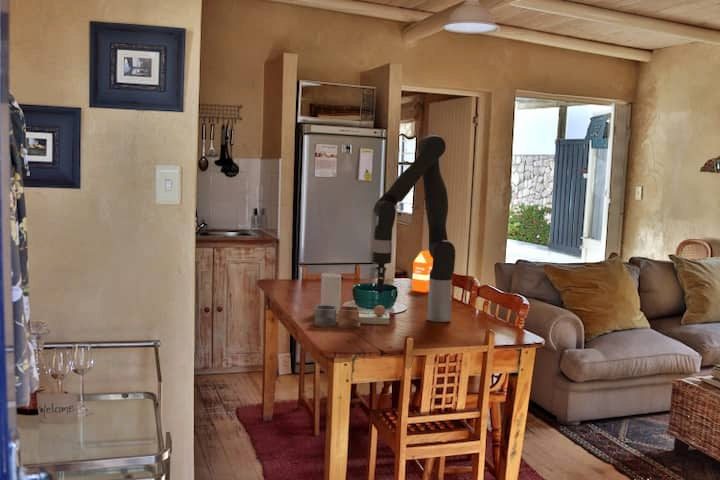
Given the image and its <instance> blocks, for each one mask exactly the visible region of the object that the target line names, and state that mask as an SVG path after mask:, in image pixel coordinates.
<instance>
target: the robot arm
mask: <svg viewBox="0 0 720 480" xmlns="http://www.w3.org/2000/svg"><path fill="white" fill-rule="evenodd" d="M417 145H418V146H417V150H418V156H417V157H416V158H415V160H413V162H412V163H411V164H410V165H409V166H408V167H406V168H405V170H404V171H403V172H402V173H400V175H399V176H398V177H397V178H396V179H395V181H394V182H393V183H392V185H391V186H390V188H389V189H388V190H387V191H386V192H384V194H383V195H382V196H381V197H380V198H378V200H377V201H376V203H375V205H374V207H373V212H374V215H376V216H377V217H378V219H377V224H376V226H375V227H374V236H373V244H372V245H373V246H372V263H374V264H377V266H376V269H375V270H376V279H377V281H376V282H377V287H376V288H377V292H376V293H377V294H383V292H384V284H385V279H386V273H387V267H386V266H385V265H388V264H391V263H392V257H393V256H392V251H393V240H392V239H393V228H394V225H395V219H396V214H397V212H396V207H395V206H397V204H398V203H400V202H402V201H404V200H405V199H406V197H407V196H408V194H409V193H410V191H411V190H412V189H413V188H414V186H415V185H416V184H417V182H418V181H419V180H420V179H421V178H422V180H423V182H422V183H423V193H424V205H425V212H426V220H427V226H428V250H429V253H430V255H431V257H432V258H433V265H432V270H431V271H430V276H429V291H428V297H427V299H428V302H427V314H426V316H427V317H426V318H427V319H426V320H428V321H431V322H435V323H446V322H451V319H452V315H451V314H452V301H453V299H452V288H453V287H452V284H453V275H454V272H455V265H456V249H455V245H454V244H453V243H452V242H450V241H449V239H448V234H447V225H446V224H447V220H448V219H447V218H448V213H449V198H448V191H447V187H446V183H445V181H444V178H443V176H442V173H441V170H440V161H439V160H440V158H441V157H442V156H443V155H444V153H445V151H446V149H447V148H446V147H447V146H446V145H447V144H446V141H445V139H444V138H442V137H441V136H440V135H426V136H424V137H422V138H420V141H419V142H418V144H417Z"/></svg>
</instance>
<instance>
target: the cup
mask: <svg viewBox="0 0 720 480" xmlns="http://www.w3.org/2000/svg"><path fill="white" fill-rule="evenodd" d="M320 280H321V283H320V305H330V306H336V315H339V307H340V306H341V299H342V298H341V296H342V293H341V292H342V291H341V290H342V274H339V273H335V272H334V273H330V272H329V273H328V272H326V273H322V274H321V279H320Z"/></svg>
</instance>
